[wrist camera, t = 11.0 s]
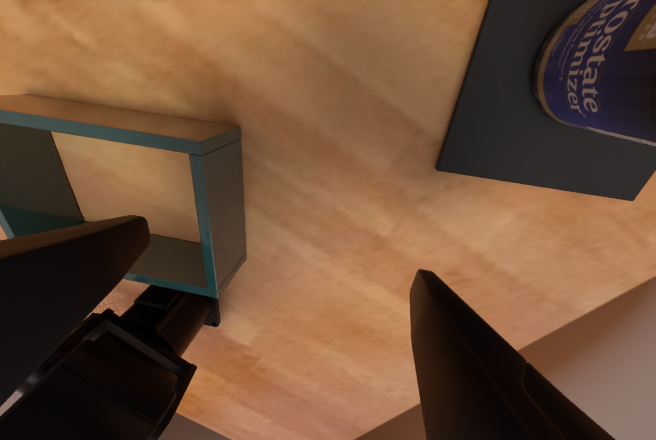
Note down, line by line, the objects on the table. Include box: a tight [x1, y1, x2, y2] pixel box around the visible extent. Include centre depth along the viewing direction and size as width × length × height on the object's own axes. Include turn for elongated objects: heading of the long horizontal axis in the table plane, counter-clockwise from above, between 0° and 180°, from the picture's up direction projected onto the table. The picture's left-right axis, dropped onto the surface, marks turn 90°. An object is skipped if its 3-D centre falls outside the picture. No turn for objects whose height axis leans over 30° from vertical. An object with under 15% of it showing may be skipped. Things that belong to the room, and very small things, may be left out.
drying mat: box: [436, 0, 656, 201], centre depth 14 cm, size 14×12×1 cm
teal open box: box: [0, 94, 246, 298], centre depth 20 cm, size 12×17×5 cm
